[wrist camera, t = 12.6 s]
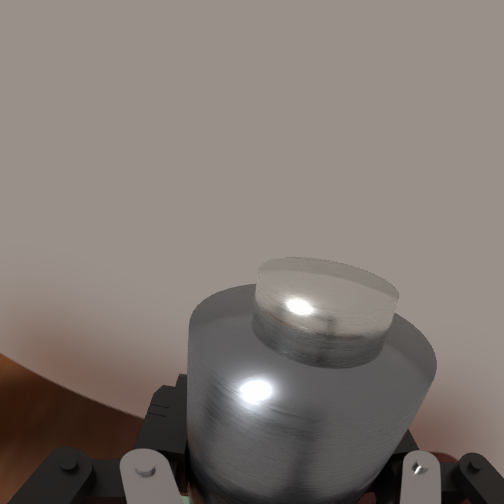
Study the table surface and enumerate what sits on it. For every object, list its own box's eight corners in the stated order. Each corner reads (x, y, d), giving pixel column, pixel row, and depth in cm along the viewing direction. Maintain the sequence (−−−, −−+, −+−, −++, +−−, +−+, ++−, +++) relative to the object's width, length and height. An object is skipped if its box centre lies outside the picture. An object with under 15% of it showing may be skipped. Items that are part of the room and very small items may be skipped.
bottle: (188, 579, 7) (163, 337, 3) (194, 489, 12) (206, 234, 9) (318, 576, 7) (508, 342, 4) (301, 492, 13) (386, 255, 9)
